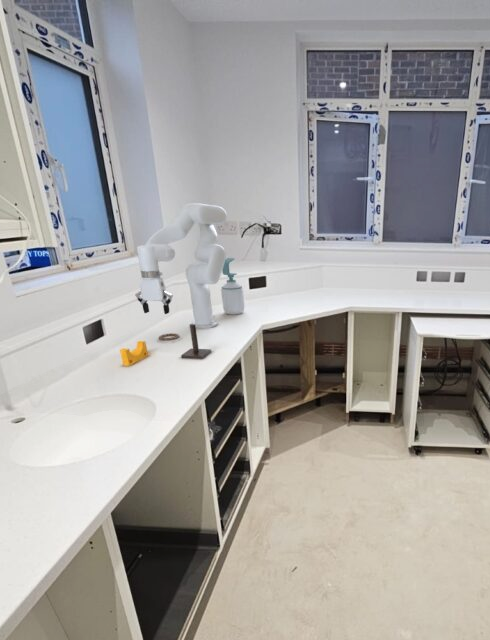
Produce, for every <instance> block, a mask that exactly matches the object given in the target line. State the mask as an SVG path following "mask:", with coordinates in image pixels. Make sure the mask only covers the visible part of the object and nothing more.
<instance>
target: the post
mask: <svg viewBox="0 0 490 640" xmlns="http://www.w3.org/2000/svg"><path fill="white" fill-rule="evenodd" d="M189 330H190V337H191V344H192V348H189V349H188V350H187V351H185V352H184V353H182V354H181V355H180V357H181V359H194V360H195V359H196V360H203V359H205V358H206V357H207V356H208V355H210V354H211V352H212V349H210V348H199V343H198V342H199V341H198V335H197V327H196V326H195V324H192V323H190V324H189Z"/></svg>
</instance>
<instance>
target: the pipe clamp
mask: <svg viewBox="0 0 490 640" xmlns="http://www.w3.org/2000/svg"><path fill="white" fill-rule="evenodd" d="M119 353H120V358H121V362H122V366H123V367H131V366H132V365H135V364H137V363H138V362H140V361H142V360H144V359H146V358H148V357H149V353H148V347H147V343H146V341H145V340H139V341H137V342H136V348H135V349H133V350H130V348H121V349H119Z"/></svg>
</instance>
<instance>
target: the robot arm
mask: <svg viewBox="0 0 490 640" xmlns="http://www.w3.org/2000/svg"><path fill="white" fill-rule="evenodd" d="M227 219H228V214H227V211H226V210H225V209H224V208H223V207H221V206H219V205H212V204H211V205H210V204H205V203H186V204H184V205H182V207H180V209H179V210H178V212H177V213H176V215H174V217H173V219H171V221H170V222H169V223H168V224H166V225H165V226H163V227H161V229H159V230H157V231H156V232H154V233H153V234H152V235H151V236H150V237H149V239H148V240H147V241H146V243H145V244H141V245H137V247H136V253H137V257H138V264H139V269H140V275H141V277H140V283H139V284H140V285H139V286H140V291H138V292H136V293H135V294H134V295H135V297H136V299H137V301H138V302H139V303H140V304H141V305H142V311H143V313H144V314H148V313H150V307H149V303H148V302H149V301H150V302H161V303H162V304H163V306H162V307H163V313H164V315H168V314H169V313H170V303H171V302H172V301H173V297H174V295H173V294H172V293H170V292H168V291H167V288H166V284H165V282H164V278H163V277H161V276H163V272H162V271H160V267H159V262H167V263H168V262H171V261H173V260H174V259H175V256H176V251H175V249H174V247H173V246H172V245H170V244H172V243H174V242H178V241H180V240H183V239H185V238H186V237H187V236H188V234H189V233H190V231H191V230H192V229H193V228H194V226H195V225H196V224H198V227H199V232H200V233H199V238H198V240H197V244H196V247H195V249H194V250H195V251H194V259H195V260H196V261H197V262H199V263H197V262H194V263H190V264H188V265H187V267H186V268H185V277H186V280H187V283H188V287H189V292H190V300H191V307H192V313H193V315H192V316H193V322H192V323H191V324H195V326H196V328H214V327H216V326H217V325H218V322H217V321H215V320H214V318H215V317H216V316H215V314H214V313H213V305H212V299H211V298H212V297H211V290H210V288H209V285H215V284H218V282H219V281H220V279H221V276H222V274H223V271H222V270H223V266H224V263H225V259H227V257H226V255H227V253H226V251H225V248H224V247H223V246H222V245H220V244H218V233H217V231H216V228H215V226H222V225H224V224H225V223H226V222H227Z"/></svg>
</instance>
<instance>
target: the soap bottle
mask: <svg viewBox="0 0 490 640" xmlns="http://www.w3.org/2000/svg"><path fill="white" fill-rule="evenodd" d="M233 261H235V258H234V257H226V259H225V263H224V266H223V270H222V274H223V275H224V276H227V278H228V279H227V280H226V283H225V284H224V285H222V286H221V289H220V294H221V301H222V310H223V311H224V313H225V314H227V315H229V316H231V315H232V316H234V315H235V316H236V315H240V314H241V315H242V313H243V312H244V311H245V297H244V295H245V294H244V288H243V286H242V285H241V284H239V283H238V282H237V279H234V277H235V276H236V275H237V273H235V272H230V263H231V262H233Z"/></svg>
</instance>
